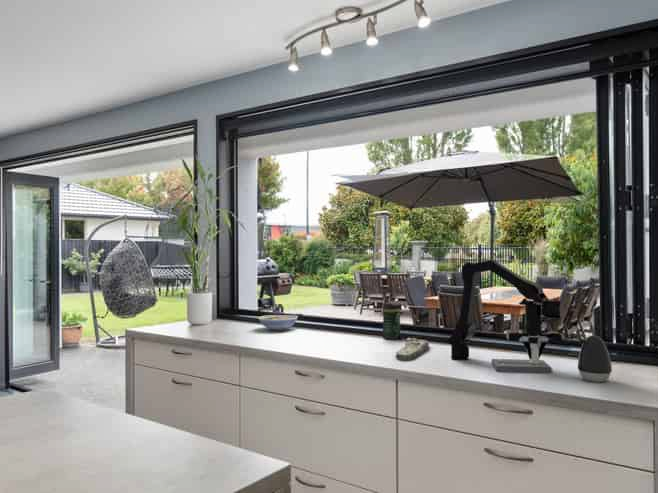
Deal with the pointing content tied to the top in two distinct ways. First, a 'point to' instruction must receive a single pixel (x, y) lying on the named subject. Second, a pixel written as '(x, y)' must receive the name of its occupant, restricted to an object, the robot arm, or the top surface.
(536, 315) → the robot arm
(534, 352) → the white small cylinder
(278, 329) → the ramen bowl
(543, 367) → the console
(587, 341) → the dark grey speaker
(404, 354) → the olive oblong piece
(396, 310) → the coffee jar
